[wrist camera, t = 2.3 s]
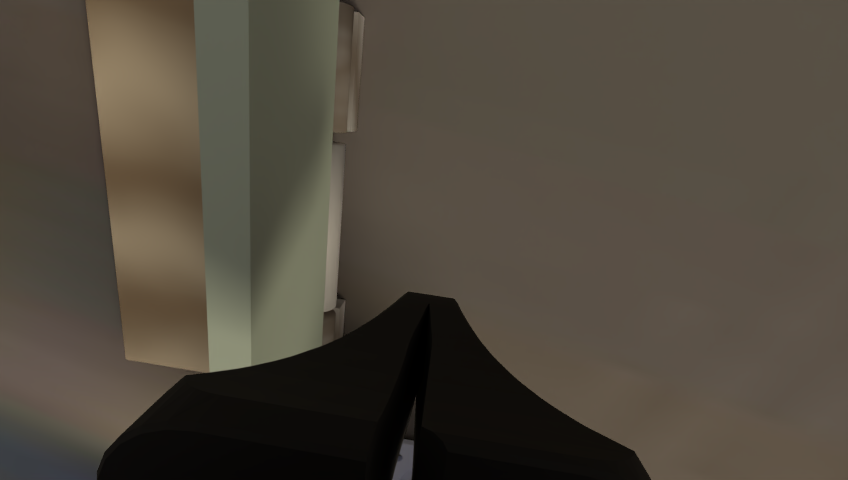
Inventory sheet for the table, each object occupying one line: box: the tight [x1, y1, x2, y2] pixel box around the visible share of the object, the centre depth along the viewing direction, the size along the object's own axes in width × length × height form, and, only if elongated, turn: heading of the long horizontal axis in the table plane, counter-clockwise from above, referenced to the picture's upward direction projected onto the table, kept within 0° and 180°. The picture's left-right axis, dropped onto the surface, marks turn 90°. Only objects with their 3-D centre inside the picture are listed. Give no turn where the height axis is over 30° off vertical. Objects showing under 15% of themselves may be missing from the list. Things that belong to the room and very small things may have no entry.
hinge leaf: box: [194, 0, 346, 372], centre depth 14 cm, size 18×10×2 cm
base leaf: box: [85, 0, 365, 373], centre depth 19 cm, size 18×11×3 cm, turn 173°
